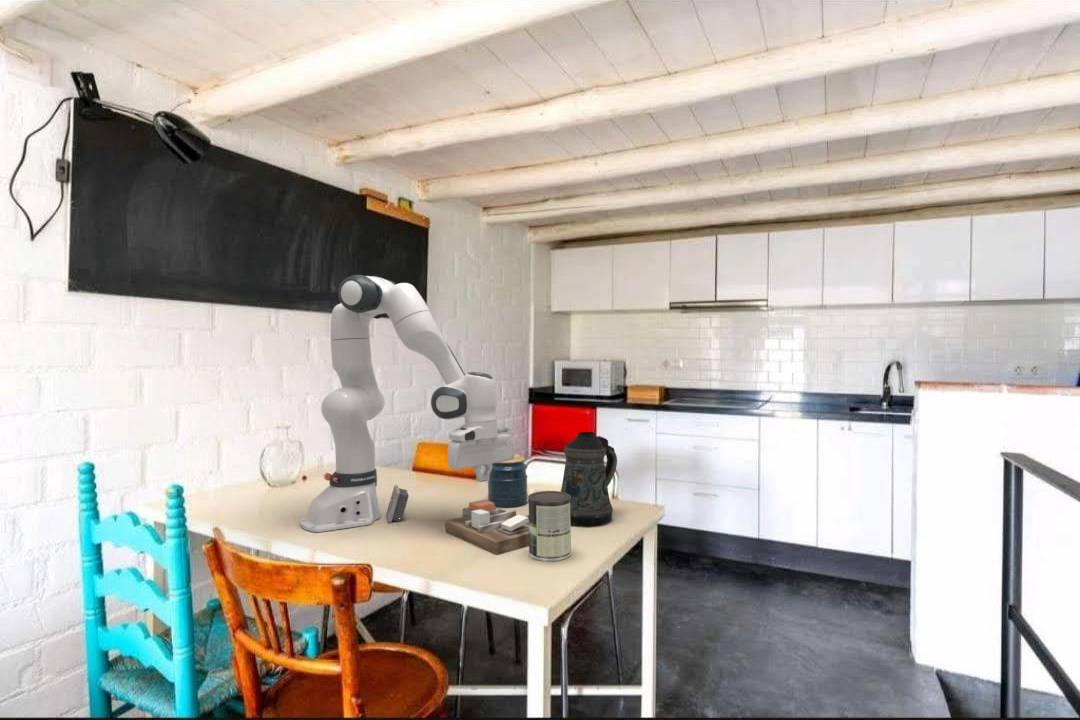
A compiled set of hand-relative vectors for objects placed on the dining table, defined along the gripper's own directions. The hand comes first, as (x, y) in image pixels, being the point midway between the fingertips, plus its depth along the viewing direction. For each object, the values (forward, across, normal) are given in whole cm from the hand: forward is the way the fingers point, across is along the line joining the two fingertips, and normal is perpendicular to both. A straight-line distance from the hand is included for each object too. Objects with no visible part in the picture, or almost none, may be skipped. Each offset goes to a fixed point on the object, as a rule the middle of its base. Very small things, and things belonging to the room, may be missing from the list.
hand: (483, 481), depth 160 cm
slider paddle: (+10, +6, +7) cm, 14 cm away
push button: (+8, 0, 0) cm, 9 cm away
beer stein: (+14, -28, +11) cm, 34 cm away
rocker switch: (+8, 0, +14) cm, 17 cm away
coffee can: (+14, 0, +27) cm, 30 cm away
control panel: (+13, 0, +7) cm, 15 cm away
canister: (+14, -22, -18) cm, 31 cm away
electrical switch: (+13, +13, -26) cm, 32 cm away
